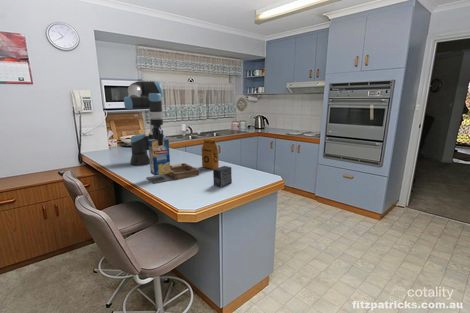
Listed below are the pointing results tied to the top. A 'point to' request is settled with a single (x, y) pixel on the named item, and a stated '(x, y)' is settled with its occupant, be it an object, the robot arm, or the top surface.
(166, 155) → the beverage box
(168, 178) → the mat
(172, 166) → the offcut stack
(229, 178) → the small box
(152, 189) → the top surface
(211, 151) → the coffee package
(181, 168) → the frame
